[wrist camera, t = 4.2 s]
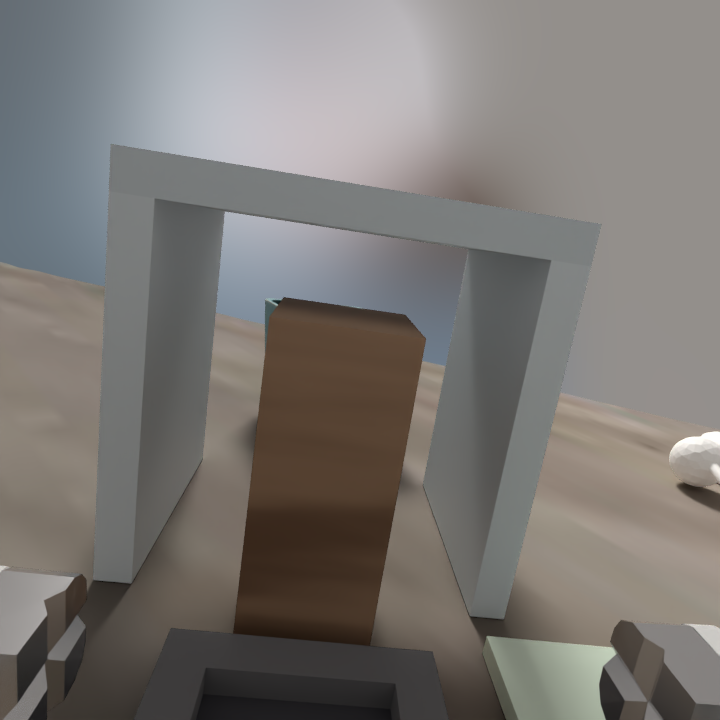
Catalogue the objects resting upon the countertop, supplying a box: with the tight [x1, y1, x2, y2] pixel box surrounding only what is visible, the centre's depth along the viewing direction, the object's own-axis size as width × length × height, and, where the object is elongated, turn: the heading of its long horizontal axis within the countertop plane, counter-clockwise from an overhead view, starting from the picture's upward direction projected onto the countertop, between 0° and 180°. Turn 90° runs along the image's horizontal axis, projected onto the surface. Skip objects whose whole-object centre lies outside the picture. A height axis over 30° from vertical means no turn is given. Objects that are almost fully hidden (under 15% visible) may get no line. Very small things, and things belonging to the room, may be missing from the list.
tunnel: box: [93, 144, 601, 619], centre depth 26 cm, size 12×17×16 cm
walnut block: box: [233, 297, 426, 646], centre depth 21 cm, size 5×5×12 cm
